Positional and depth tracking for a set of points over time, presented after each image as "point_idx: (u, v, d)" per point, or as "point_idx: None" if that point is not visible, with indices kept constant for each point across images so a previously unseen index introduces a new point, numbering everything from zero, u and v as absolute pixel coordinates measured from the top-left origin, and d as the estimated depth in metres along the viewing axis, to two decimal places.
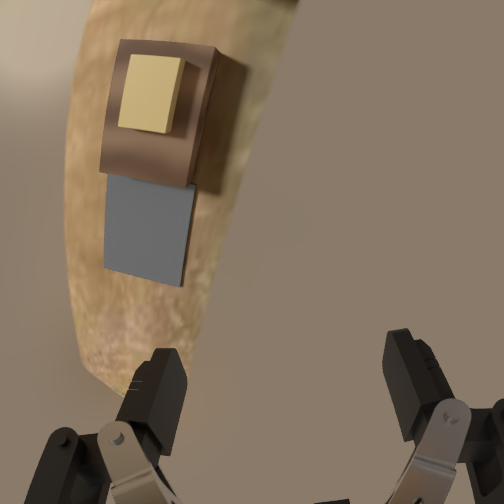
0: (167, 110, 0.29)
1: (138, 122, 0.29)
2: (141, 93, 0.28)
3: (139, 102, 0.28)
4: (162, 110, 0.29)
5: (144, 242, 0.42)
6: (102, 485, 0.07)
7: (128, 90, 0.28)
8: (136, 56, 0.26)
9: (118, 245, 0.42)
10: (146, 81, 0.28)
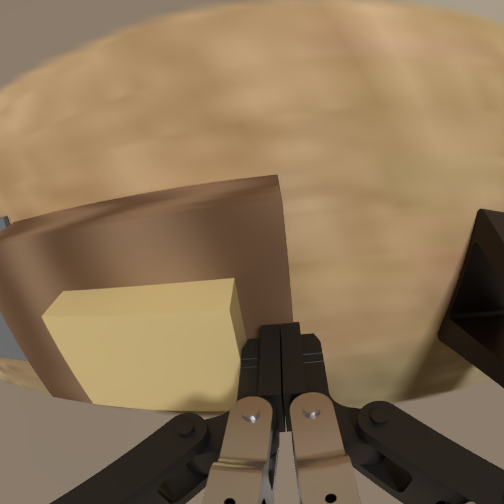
0: (132, 405, 0.13)
1: (76, 359, 0.12)
2: (134, 359, 0.11)
3: (113, 358, 0.11)
4: (126, 399, 0.13)
5: None
6: (204, 479, 0.08)
7: (124, 329, 0.11)
8: (226, 327, 0.10)
9: None
10: (167, 365, 0.11)
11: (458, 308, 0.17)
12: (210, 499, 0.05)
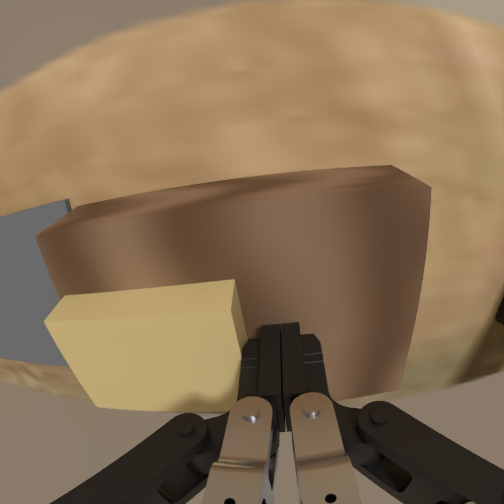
0: (135, 407, 0.13)
1: (79, 363, 0.12)
2: (137, 361, 0.11)
3: (116, 361, 0.12)
4: (129, 401, 0.13)
5: (5, 305, 0.18)
6: (204, 479, 0.08)
7: (126, 332, 0.11)
8: (227, 328, 0.10)
9: None
10: (169, 367, 0.11)
11: None
12: (210, 499, 0.05)
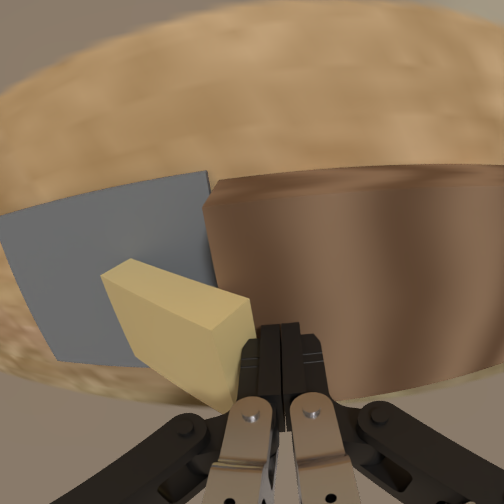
0: (158, 370, 0.16)
1: (122, 317, 0.15)
2: (154, 336, 0.13)
3: (142, 328, 0.14)
4: (153, 364, 0.15)
5: (83, 299, 0.18)
6: (204, 479, 0.08)
7: (145, 309, 0.13)
8: (210, 344, 0.10)
9: (44, 244, 0.16)
10: (175, 352, 0.13)
11: None
12: (210, 499, 0.05)
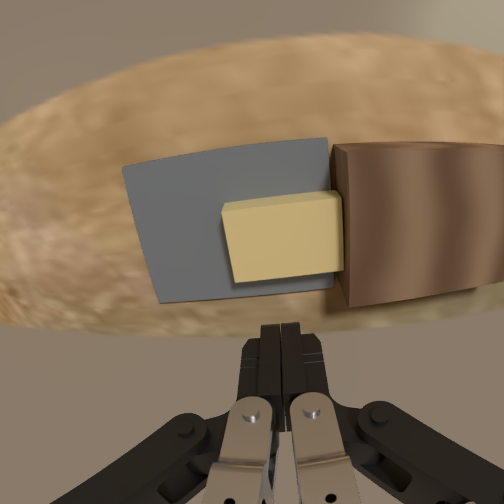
0: (267, 276, 0.23)
1: (237, 242, 0.22)
2: (282, 234, 0.22)
3: (268, 235, 0.22)
4: (265, 271, 0.23)
5: (209, 235, 0.24)
6: (204, 479, 0.08)
7: (282, 212, 0.21)
8: (338, 207, 0.21)
9: (180, 187, 0.23)
10: (302, 236, 0.22)
11: None
12: (210, 499, 0.05)
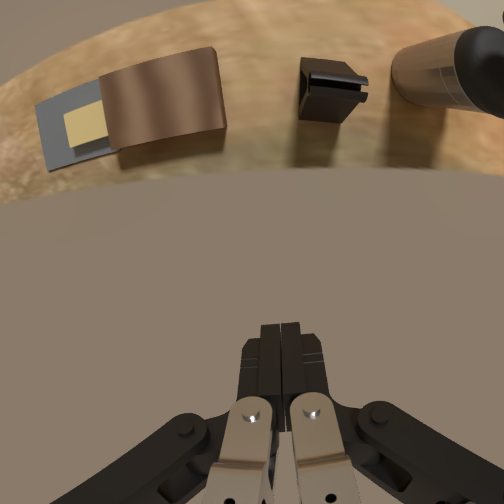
0: (81, 142, 0.41)
1: (69, 127, 0.39)
2: (85, 120, 0.39)
3: (79, 121, 0.39)
4: (80, 139, 0.40)
5: (65, 129, 0.41)
6: (204, 479, 0.08)
7: (84, 110, 0.38)
8: None
9: (55, 110, 0.40)
10: (92, 119, 0.39)
11: None
12: (210, 499, 0.05)
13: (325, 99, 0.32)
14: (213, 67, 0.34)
